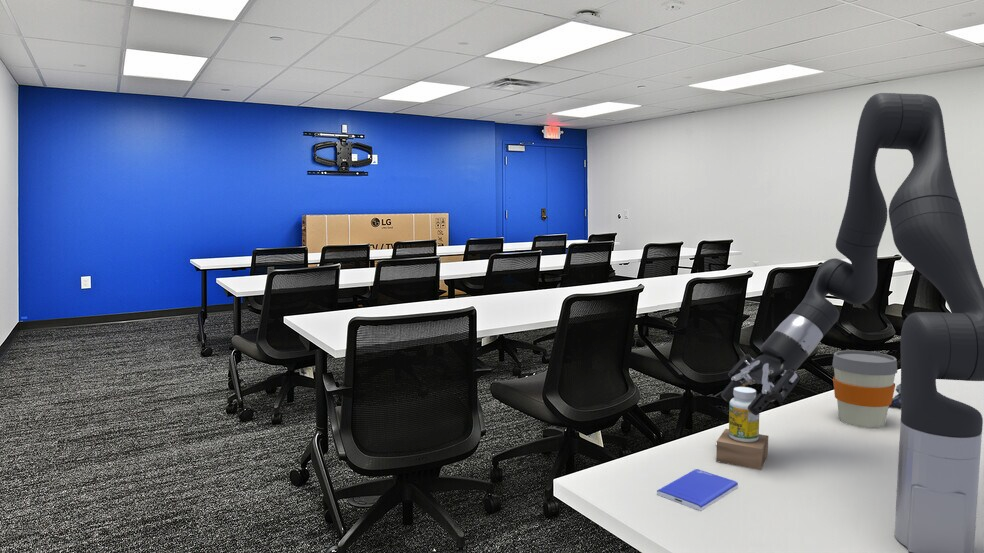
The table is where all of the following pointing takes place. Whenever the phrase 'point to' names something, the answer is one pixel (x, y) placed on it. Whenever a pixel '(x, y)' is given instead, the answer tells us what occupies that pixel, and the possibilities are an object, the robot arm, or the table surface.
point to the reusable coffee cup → (864, 386)
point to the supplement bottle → (743, 416)
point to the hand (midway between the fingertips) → (737, 405)
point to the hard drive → (698, 489)
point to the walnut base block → (742, 451)
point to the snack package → (897, 397)
